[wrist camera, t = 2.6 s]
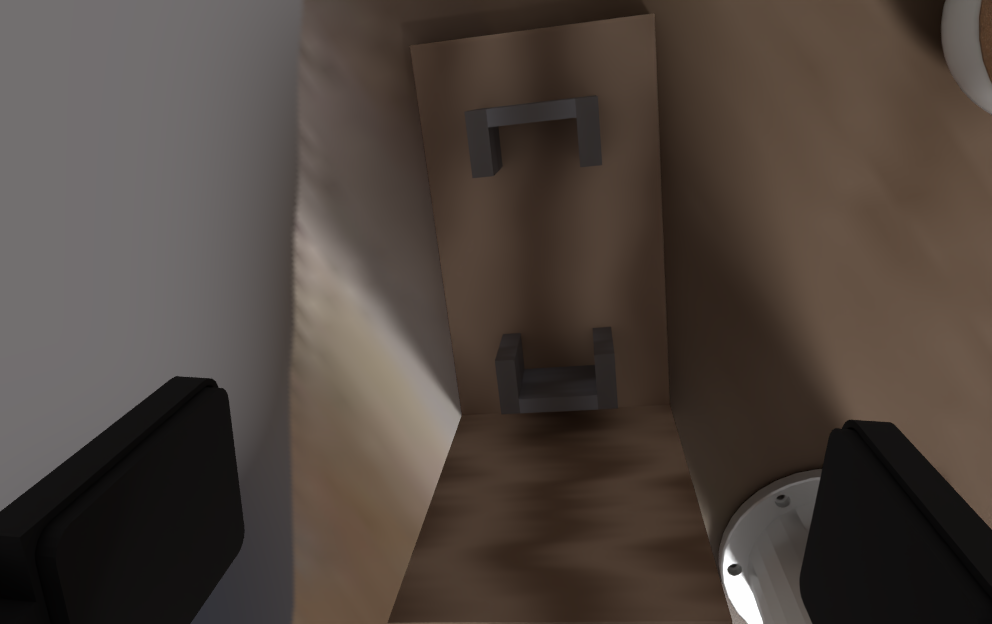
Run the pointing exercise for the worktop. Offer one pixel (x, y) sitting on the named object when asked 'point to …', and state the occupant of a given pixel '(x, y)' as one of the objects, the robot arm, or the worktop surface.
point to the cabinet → (555, 340)
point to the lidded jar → (969, 47)
